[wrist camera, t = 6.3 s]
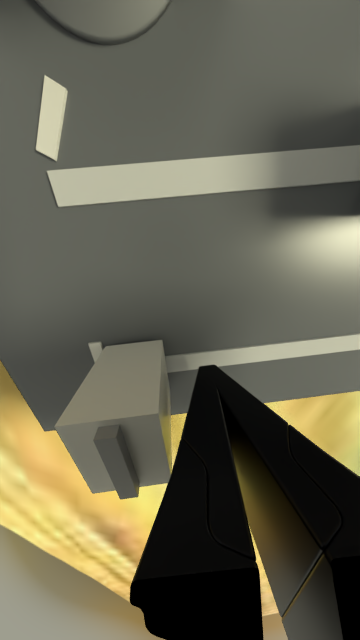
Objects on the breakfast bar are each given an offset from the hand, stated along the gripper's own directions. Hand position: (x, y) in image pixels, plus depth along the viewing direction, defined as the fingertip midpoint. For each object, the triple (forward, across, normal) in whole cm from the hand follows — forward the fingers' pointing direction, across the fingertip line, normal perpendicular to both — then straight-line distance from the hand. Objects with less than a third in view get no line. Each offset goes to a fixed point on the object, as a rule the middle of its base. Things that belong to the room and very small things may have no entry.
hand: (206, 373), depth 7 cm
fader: (+1, +3, 0) cm, 3 cm away
